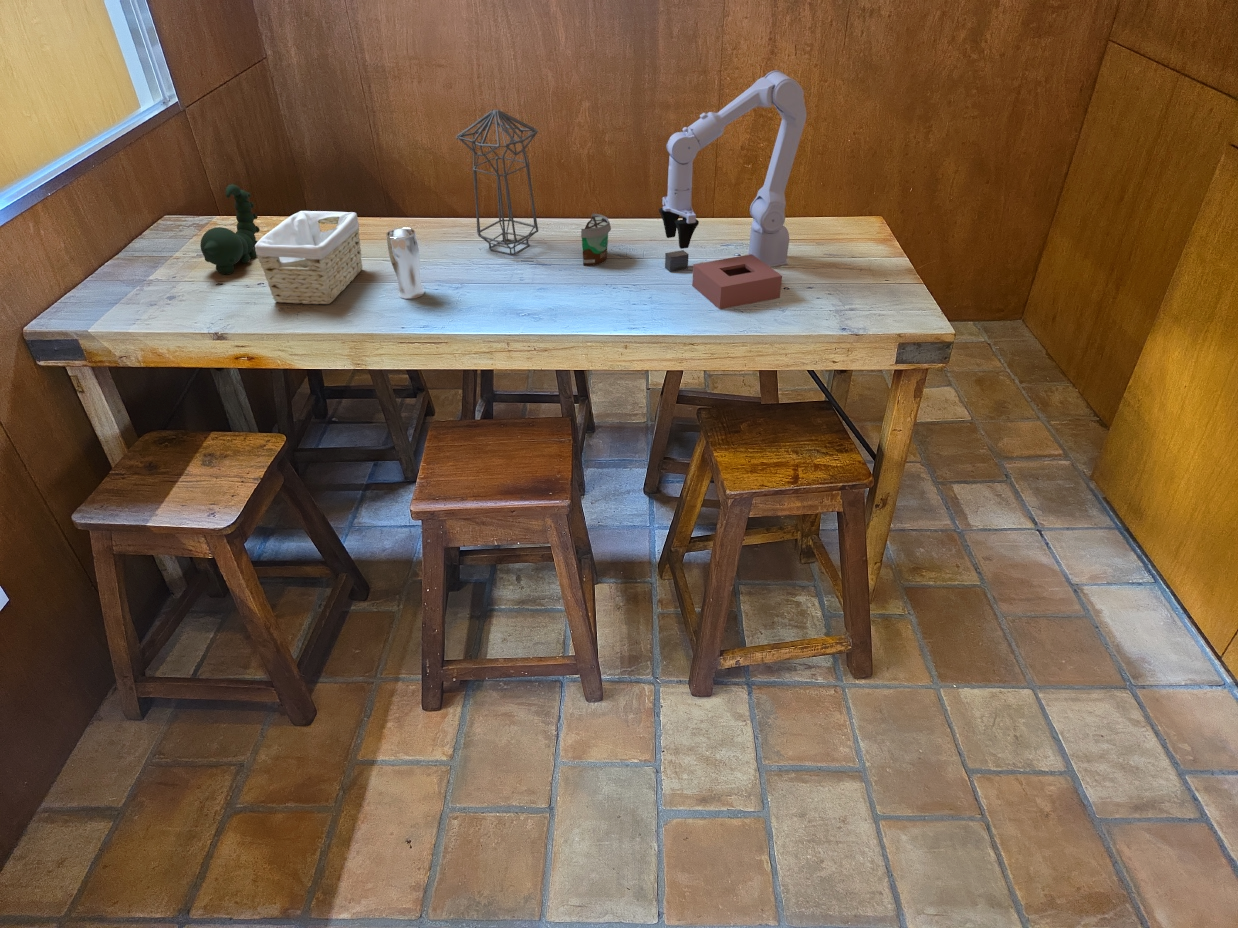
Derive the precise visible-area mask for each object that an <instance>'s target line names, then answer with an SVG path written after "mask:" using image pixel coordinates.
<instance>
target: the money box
mask: <svg viewBox="0 0 1238 928" xmlns="http://www.w3.org/2000/svg"><path fill="white" fill-rule="evenodd" d="M782 281H783V275H782V274H781V273H780V272H778V271H776V270H775V269H773V267H769V266H768V265H767V264H765V263H764V262H762V261H761V260H759V259H758V258H757V257H755V256H754V255H752V254H750V255H748V254H745V255H740V256H733V257H728V258H723V259H716V260H711V261H706V262H700V263H699V262H698V263H694V264H693V267H692V285H691V286H692V287H693V288H694V289H695V290H696V291H698V292H699V293H700V294H701V295H702V296H703V297H704V298H706V299H707V300H708V301H709V302H710V303H712V304H713V306H715V307H716V308H717V309H718V310H722V309H729V308H733V307H734V308H735V307H738V306H739V307H740V306H744V305H749V304H754V303H760V302H765V301H770V300H774V299H779V298H780V296H781V289H782Z"/></svg>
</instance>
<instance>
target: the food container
mask: <svg viewBox="0 0 1238 928" xmlns="http://www.w3.org/2000/svg"><path fill="white" fill-rule="evenodd" d="M611 230H612V226H611V223H610V221H609V218H608V217H607V216H605V215H603V214H599V213H591V217H590V220H588V221H587V223H586V225H585V227H584V228H581V231H580V238H581V246H582V262H583V266H584V267H585V266H586V267H591V266H592V267H593V266H598V265H601V264H603V263H605V262H606V261H607V257H608V243H609V240H608V239H609V233H610V232H611Z"/></svg>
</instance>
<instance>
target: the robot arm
mask: <svg viewBox="0 0 1238 928" xmlns="http://www.w3.org/2000/svg"><path fill="white" fill-rule="evenodd" d="M804 93H805V91H804V88H802V86H801V85H800V84H799V82H798V81H797V80H796V79H795V78H792V77H789V76H788V75H787V74H785V73H784V72H783V71H782V70H781V71H780V70H775V69H774V70H771V71H769V72H768V73H766V75H765V76H761V77H760V78H758V79H757V80H756V81H755V82H754V83H753V84H752V85H751V86H750V87H748V88H747V89H746V90H745V91H743V92H742V93H741V94H740V95H738V96H737V97H736V98H734V99H733V100H732V101H731V102H729V103H728V104H726V106H724V107H723V108H722V109H720V110H719V111H718V112H712V111H709V112H707V113H706V112H702V113H701V114H700V115H699V117H700V118H699V119H697V120H696V121H695V122H693V123H692V124H690V125H689V126H688V127H687V126H684V127H683V128H682V131H680V132H679V131H677V132H674V133H673V134H672V135H671V136H670V137H669V139H668V141H667V143H666V145H665V146H666V147H665V148H666V150H667V152H668V154H669V160H668V171H667V172H668V173H667V174H668V175H667V196H663V197H662V207H660V208H659V209H658V213H659V214H660V216H661V220H662V223H663V228H664V232H665V237H666V238H667V239H671V238H675V237H676V234H677V235H678V246H679V249H681V250H682V249H683V250H684V249H688V248H689V246H690V244H691V243H690V242H691V240H692V236H693V234H694V232H695V230H696V228H697V227H698V226H699V223H700V220H698V219H697V214H696V213H695V212H694V209H693V205H692V191H693V187H692V186H693V172H694V171H693V170H694V169H693V168H694V167H693V164H694V160H695V158H696V157H697V155H698V152H699V151H701V150H703V149H704V148H706V146H708V145H709V144H711V143H713V142H714V141H715V140H717V139H718V138H719V137H721V136H722V135H723V134H724V131H725V128H726V126H727V125H729V124H731V123H732V122H734V121H735V120H738V119H739V118H740V117H742V116H743V115H745V114H747V113H748V112H750V111H751V110H754V108H772V107H773V106H774V108H775V109H776V111H777V113H778V114H779V116H780V117H781V122H780V126H779V129H778V133H777V137H776V139H775V144H774V147H773V151H772V155H771V156H770V157H771V158H770V161H769V165H768V169H767V171H766V172H767V173H766V176H765V180H764V183H763V186H761V188H759V189H758V191H757V193H756V196H755V198H754V199H753V201H752V202H751V204H750V207H749V213H750V216H751V218H752V219H753V220H752V223H751V227H750V235H749V236H750V237H749V244H748V254H747V255H750V254H752V255H754V256H755V257H757V258H758V259H759V260H761V261H762V262H764V263H765V264H767V265H768V266H769V267H771V268H774V267H778V266H784V265H788V264H789V261H788V259H787V258H788V252H789V245H790V233H789V230H788V229H787V227H786V226H785V225H784V224H785V220H786V216H785V215H786V214H785V211H786V210H785V209H786V205H787V203H786V195H785V193H786V188H787V185H788V181H789V177H790V175H791V172H792V168H793V164H794V162H795V157H796V154H797V151H798V147H799V145H800V142H801V138H802V134H803V131H804V127H805V124H806V120H807V116H808V115H807V114H808V113H807V109H806V108H807V107H806V104H805V99H804V95H805V94H804ZM680 217H681V218H682V219H679V218H680Z"/></svg>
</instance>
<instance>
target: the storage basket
mask: <svg viewBox="0 0 1238 928" xmlns="http://www.w3.org/2000/svg"><path fill="white" fill-rule="evenodd" d="M320 224H322V225H324V224H329V225H336V226H335V228H331V229H328V230H325V231H322V230H321V227H320ZM359 231H360V223H359V219H358V214H357V212H353V211H350V212H347V211H330V210H329V211H323V210H322V211H321V210H317V211H316V210H314V211H313V210H312V211H311V210H300V211H298V212H296V213H294V214H292V215H290V216H288V217H286V219H284V220H283V221H282V222H280V223H279V224H278V225H277V226H275V227H274V228H273V229H271V230H270V231H268V232H267V233H266V234H264V235H262V237H261V238H260V239H259V240H257V241H258V242H257V243H256V245H255V248H254V250H255V251H256V255H257V256H256V257H257V258H258V262H259V263H260V266H261V269H262V270H263V273H264V277H265V280H266V281H267V284H268V287H269V290H270V292H271V293H270V294H271V295H272V299H273V300H274V302H278V303H287V304H304V305H311V304H313V305H319V304H320V305H329V304H331V303H332V302H334V300H335V299H336V298H337V297H338V296H339V294H340V293H341V292H343V291H344V290H345V289H346V287H348V285H349V284H351V283H350V282H351V281H352V282H353V280H354V279H356V276H358V275H359V274H360V272H362V270H363V268H364V267H363V260H362V248H361V243H360V242H361V240H360V232H359Z"/></svg>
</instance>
